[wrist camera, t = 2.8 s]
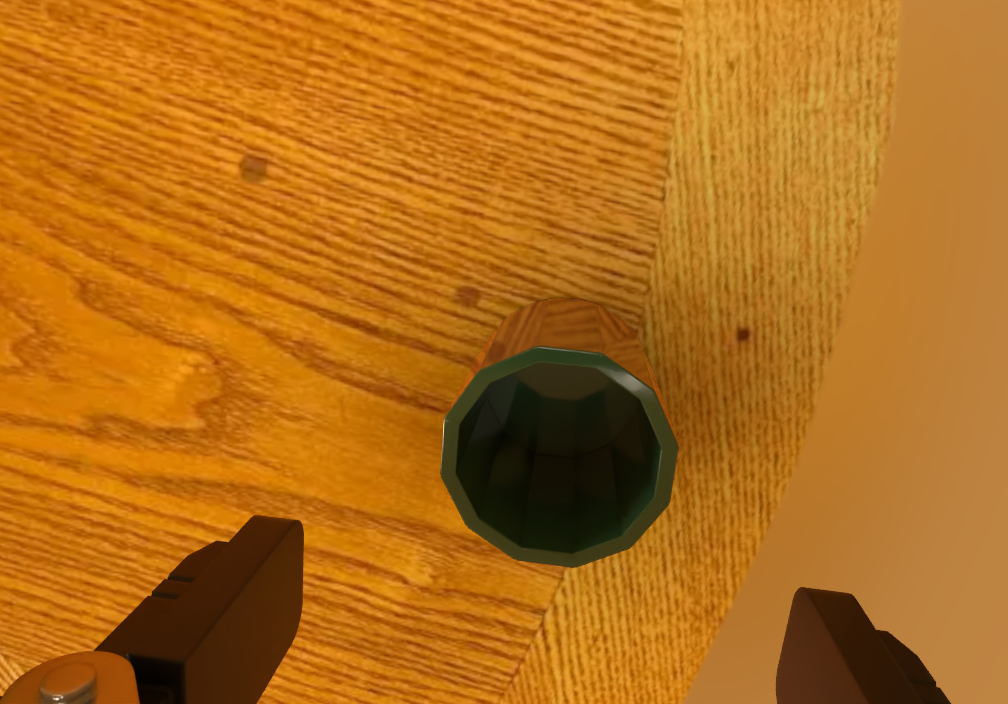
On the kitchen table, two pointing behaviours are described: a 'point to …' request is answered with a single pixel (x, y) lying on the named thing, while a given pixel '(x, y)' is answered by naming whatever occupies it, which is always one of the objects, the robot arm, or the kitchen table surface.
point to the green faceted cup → (560, 437)
